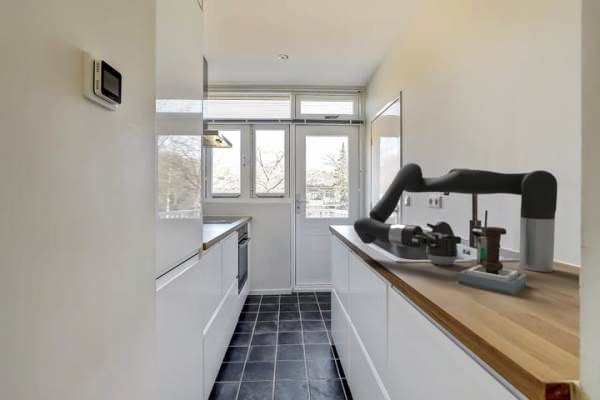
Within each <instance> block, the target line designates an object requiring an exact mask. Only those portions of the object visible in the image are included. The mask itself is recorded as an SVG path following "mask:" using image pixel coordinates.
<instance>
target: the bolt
mask: <svg viewBox="0 0 600 400" xmlns="http://www.w3.org/2000/svg"><path fill="white" fill-rule="evenodd" d="M481 233H483V234H485V235H486V236H485V238H486V239H487V241H486V243H487V247H486V250H487V252H486V257H487V258H486V260H484V261H482V266H483V268H485V269H486V272H485V273H490V274H495V275H499V272H498V271H499V270H502V269H504V264H503V263H502V262H500V248H501V247H500V246H501V237H502V236H501V235H507V229H506V228H504V227H498V226H497V227H496V226H483V227H482V228H481ZM499 247H500V248H499Z"/></svg>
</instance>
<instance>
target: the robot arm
mask: <svg viewBox="0 0 600 400" xmlns="http://www.w3.org/2000/svg"><path fill="white" fill-rule="evenodd" d="M404 191H405V192H406V193H413V194H414V193H418V194H419V193H453V194H465V195H494V194H496V195H497V194H504V195H505V194H507V195H516V196H517V195H518V196H520V197H521V199H520V221H519V249H518V250H519V252H518V267H519V268H521V269H523V270H529V271H535V272H543V273H550V272H554V259H555V258H554V257H555V255H554V254H555V228H556V211H557V202H558V181H557V178H556V177H555V176H554V175H553V173H551V172H549V171H546V170H534V171H531V172H522V173H518V172H517V173H504V172H496V171H489V170H481V169H457V170H454V171H451V172H449V173H445V174H444V175H442V176H439V177H424V175H423V172H422V167H420V166H419V164H417V163H414V162H413V163H411V162H410V163H406V164H404V165H403V166H401V167H400V168H399V170H398V172H397V173H396V175H395V176H394V178H393V180H392V182H391V184H389V187H388V188H387V190H386V191H385V193H384V195H383V196H382V197H381V198H380V199H379V201H378V202H377V203H376V204H375V205H374V206H373V207H372V209H371V210H370V211H369V217H365V216H364V217H360V218H358V219H356V220H355V222H353V223H354V224H353V229H354V231H355V233H356V234H357V236H358V238H359V239H360V241H361V242H362V243H363V244H366V245H371V244H372V243H374V242H375V241H377V240H378V241H379V242H380V243H384V244H390V245H396V246H399V247H405V248H411V249H419V248H420V247H421V246H425V247H427V246H436V245H437V246H444V247H449V246H450V243H456V244H457V245H460V244H461V243H462V237H461V236H457V235H455V236H449V234H442V233H433V232H431V231H426V232H425V231H423V228H422V226H420V225H414V224H413V225H412V224H402V223H399V224H398V223H397V224H395V223H394V224H393V223H386V221H388V219H389V218H390V217H391V216H392V214H393V213H394V212H395V210H396V209H397V207H398V205H399V202H400V199H401V197H402V195H403V192H404ZM442 236H445V239H442Z"/></svg>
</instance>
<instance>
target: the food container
mask: <svg viewBox="0 0 600 400" xmlns="http://www.w3.org/2000/svg"><path fill="white" fill-rule="evenodd" d="M486 241H487V239H486V237H482V236H480V237H479V236H477V239H476V244H477V245H476V248H477V249H476V266H478V265H482V261H484V260H486V258H487V257H486V252H487V250H486V247H487V243H486ZM500 248H501V245H500V247H499V249H500Z"/></svg>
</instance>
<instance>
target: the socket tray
mask: <svg viewBox="0 0 600 400" xmlns="http://www.w3.org/2000/svg"><path fill="white" fill-rule="evenodd" d="M485 272H486V269H485V268H483V266H482V265H478V266H477V265H473V266H472V267H471V266H470V267H468V268H467V269H464V270H462V271H459V272H458V281H457V282H458V284H461V285H464V286H469V287H473V288H474V287H475V288H477V289H478V288H479V289H482V290H487V291H491V292H496V293H500V294H506V295H510V296H515V295H516V294H517V293H518V292H519V291H521V290H522V289H523V288H524V287H526V286H527V273H519V272H518V270H512V269H506V268H503V269H502V270H499V271H498V272H499V275H495V274H490V273H485Z"/></svg>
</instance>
